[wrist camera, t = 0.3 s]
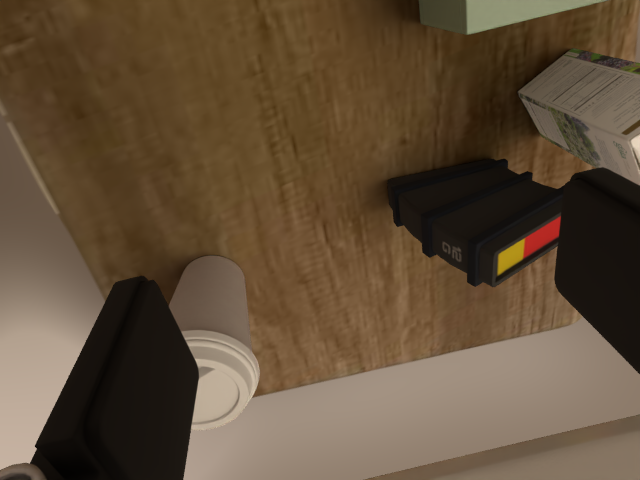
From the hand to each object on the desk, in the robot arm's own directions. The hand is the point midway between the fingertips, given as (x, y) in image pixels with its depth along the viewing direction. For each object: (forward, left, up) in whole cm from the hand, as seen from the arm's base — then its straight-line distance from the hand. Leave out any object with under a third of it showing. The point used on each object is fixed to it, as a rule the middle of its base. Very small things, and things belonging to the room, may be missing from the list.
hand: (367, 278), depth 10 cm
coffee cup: (+19, -13, -31) cm, 38 cm away
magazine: (+14, +13, -31) cm, 36 cm away
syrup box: (+8, +23, -31) cm, 39 cm away
